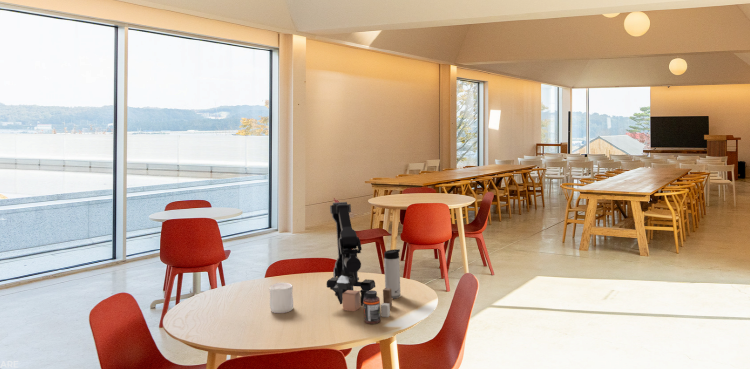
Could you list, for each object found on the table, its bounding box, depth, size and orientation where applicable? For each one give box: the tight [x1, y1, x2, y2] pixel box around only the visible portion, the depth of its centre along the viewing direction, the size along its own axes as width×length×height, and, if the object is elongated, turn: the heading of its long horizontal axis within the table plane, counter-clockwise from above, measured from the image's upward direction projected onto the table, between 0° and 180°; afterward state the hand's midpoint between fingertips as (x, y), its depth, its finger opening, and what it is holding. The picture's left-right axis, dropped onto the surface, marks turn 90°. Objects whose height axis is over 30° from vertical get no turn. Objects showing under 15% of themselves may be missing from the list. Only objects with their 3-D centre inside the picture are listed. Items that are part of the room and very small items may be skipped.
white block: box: [380, 303, 391, 318], centre depth 219 cm, size 3×3×4 cm
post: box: [382, 288, 393, 308], centre depth 230 cm, size 3×3×7 cm
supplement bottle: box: [363, 289, 381, 325], centre depth 213 cm, size 6×6×11 cm
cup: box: [268, 282, 294, 314], centre depth 231 cm, size 10×10×10 cm
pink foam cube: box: [342, 289, 361, 312], centre depth 229 cm, size 5×5×7 cm
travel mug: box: [383, 248, 401, 300], centre depth 242 cm, size 6×7×20 cm
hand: (351, 304), depth 229 cm, fingers open, 9 cm apart
